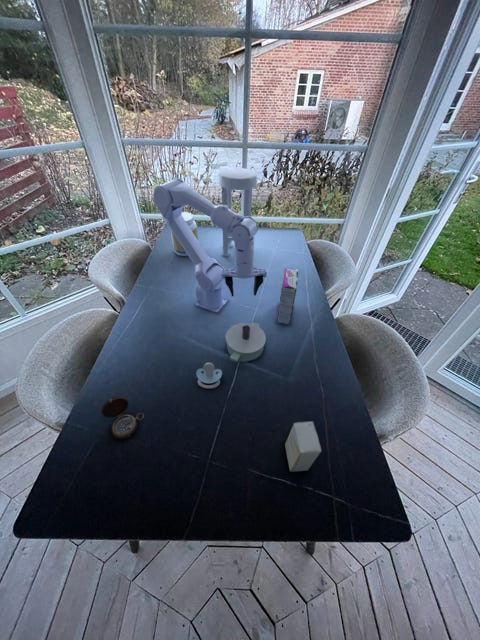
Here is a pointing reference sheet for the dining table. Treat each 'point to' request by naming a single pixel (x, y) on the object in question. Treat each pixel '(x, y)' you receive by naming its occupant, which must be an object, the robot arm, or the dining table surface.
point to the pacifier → (208, 376)
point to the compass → (120, 417)
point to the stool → (229, 182)
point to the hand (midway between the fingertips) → (243, 294)
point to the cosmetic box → (302, 446)
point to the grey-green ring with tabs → (244, 357)
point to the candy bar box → (287, 295)
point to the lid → (245, 338)
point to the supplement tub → (192, 225)
